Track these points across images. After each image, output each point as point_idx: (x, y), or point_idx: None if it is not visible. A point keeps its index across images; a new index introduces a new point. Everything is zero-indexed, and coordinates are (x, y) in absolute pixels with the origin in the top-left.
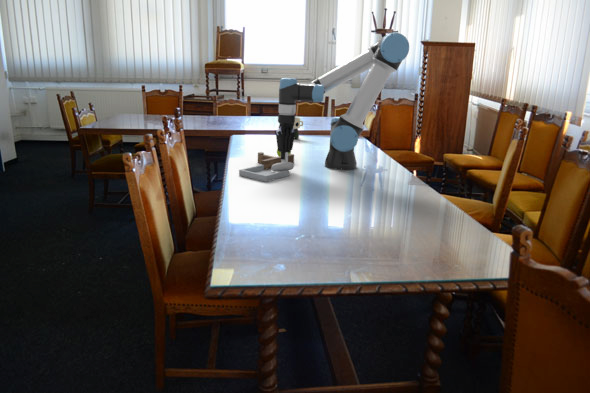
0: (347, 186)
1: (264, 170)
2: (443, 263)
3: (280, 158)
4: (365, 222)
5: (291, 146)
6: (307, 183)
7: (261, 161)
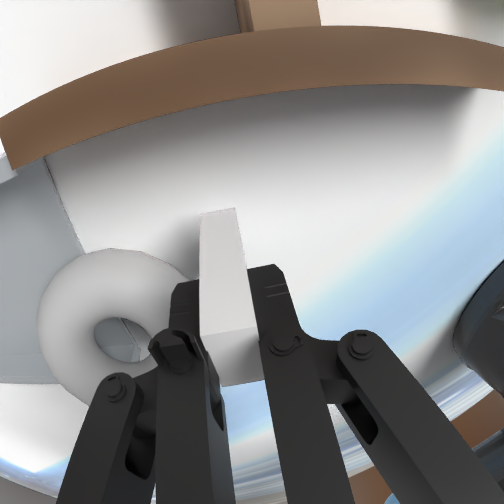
0: (254, 460)
1: (33, 186)
2: None
3: (335, 85)
4: None
5: (362, 424)
6: None
7: (3, 121)
